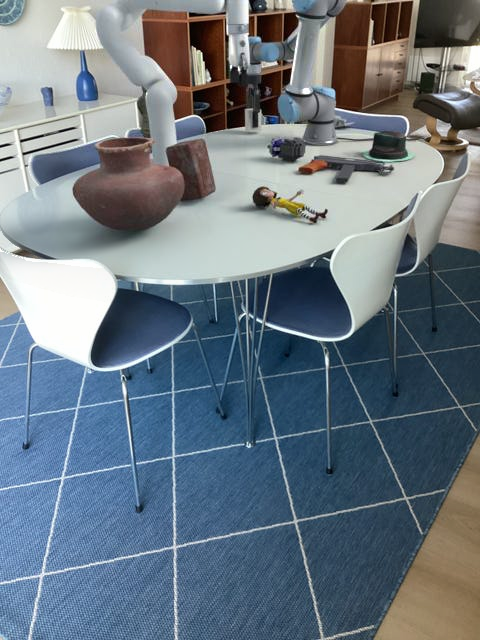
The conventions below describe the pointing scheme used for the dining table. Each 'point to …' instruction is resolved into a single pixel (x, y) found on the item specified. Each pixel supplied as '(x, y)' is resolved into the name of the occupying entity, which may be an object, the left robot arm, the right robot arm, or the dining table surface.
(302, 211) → the figurine
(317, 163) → the submachine gun
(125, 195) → the clay pot
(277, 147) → the toy
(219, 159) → the dining table surface
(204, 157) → the rough terracotta slab
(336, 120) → the camera
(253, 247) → the dining table surface
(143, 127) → the statue
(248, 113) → the brick
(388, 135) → the dark porkpie hat
